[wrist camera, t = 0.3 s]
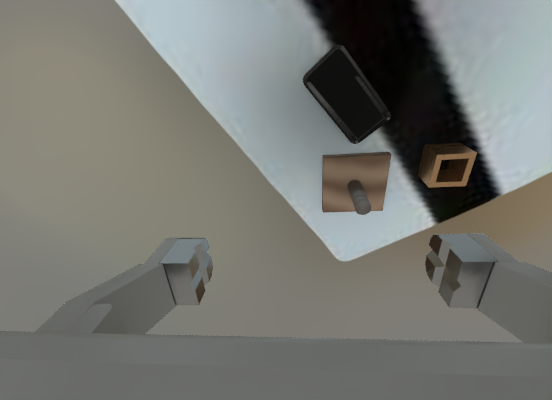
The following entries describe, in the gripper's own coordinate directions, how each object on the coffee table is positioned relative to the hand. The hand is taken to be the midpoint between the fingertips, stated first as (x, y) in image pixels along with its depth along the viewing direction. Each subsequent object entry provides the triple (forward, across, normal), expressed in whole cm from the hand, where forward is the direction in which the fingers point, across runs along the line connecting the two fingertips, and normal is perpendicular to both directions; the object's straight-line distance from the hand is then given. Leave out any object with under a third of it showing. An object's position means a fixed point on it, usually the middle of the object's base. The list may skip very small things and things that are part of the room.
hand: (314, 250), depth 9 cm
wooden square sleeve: (+40, -25, +9) cm, 48 cm away
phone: (+39, -8, -3) cm, 40 cm away
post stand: (+40, -10, +13) cm, 44 cm away
